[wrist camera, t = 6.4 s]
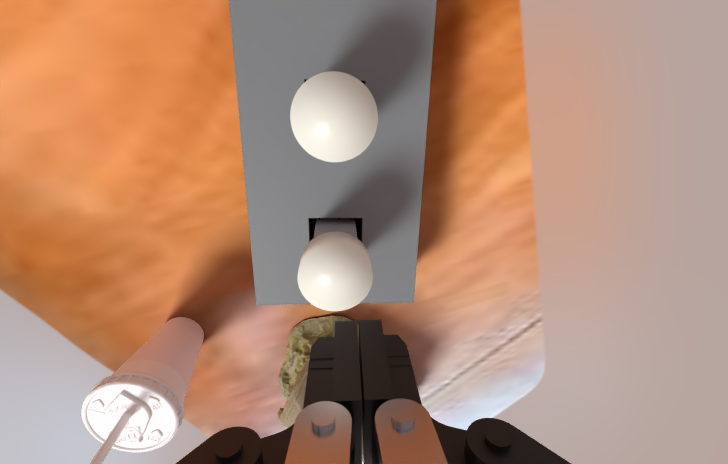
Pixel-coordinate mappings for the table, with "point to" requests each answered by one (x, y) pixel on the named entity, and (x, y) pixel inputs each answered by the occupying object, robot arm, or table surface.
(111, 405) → the smoothie
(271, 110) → the control panel
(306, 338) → the ceramic model
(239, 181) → the table surface
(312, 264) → the knob outer
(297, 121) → the knob middle
